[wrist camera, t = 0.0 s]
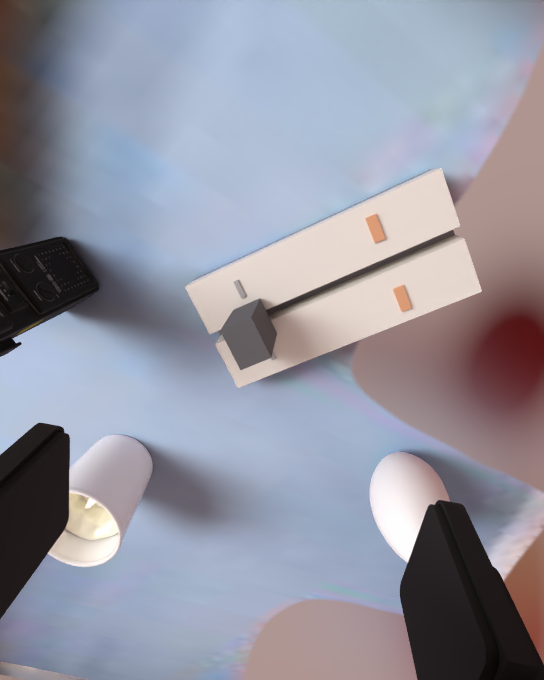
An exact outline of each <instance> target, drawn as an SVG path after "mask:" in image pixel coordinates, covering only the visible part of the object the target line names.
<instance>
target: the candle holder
mask: <svg viewBox="0 0 544 680" xmlns="http://www.w3.org/2000/svg"><path fill="white" fill-rule="evenodd" d="M152 471H153V462H152V458H151V456H150V454H149V452H148V450H147V449H146V448H145V447H144V446H143V445H142V444H141V443H140V442H138V441H137V440H135V439H133V438H131V437H129V436H125V435H119V434H114V435H108V436H105V437H103V438H101V439H99V440H98V441H97V442H96V443H94V444H93V445H92V446H91V447H90V448H89V449H88V450H87V451H86V452H85V453H84V454H83V455H82V456H81V457H80V458H79V459H78V460H77V461H76V462H75V463H74V464H73V465H72V466H71V467H70V468H69V519H68V523H67V525H66V528H65V530H64V531H63V533H62V534H61V535H60V537H59V538H58V540H57V541H56V542H55V544H54V545H53V547H52V548H51V549H50V551H49V552H48V554H49V555H51V556H52V557H54V558H55V559H57V560H59V561H61V562H64V563H66V564H69V565H73V566H79V567H91V566H97V565H100V564H103V563H105V562H107V561H109V560H110V559H111V558H112V557H113V556H114V555H115V554H116V553H117V552H118V550H119V548H120V546H121V543H122V540H123V538H124V535H125V533H126V531H127V529H128V527H129V524H130V522H131V520H132V518H133V516H134V513H135V511H136V509H137V507H138V505H139V503H140V500H141V498H142V496H143V494H144V492H145V489H146V487H147V485H148V483H149V480H150V478H151V475H152Z"/></svg>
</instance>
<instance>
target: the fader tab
mask: <svg viewBox="0 0 544 680" xmlns="http://www.w3.org/2000/svg"><path fill="white" fill-rule="evenodd" d="M220 332H221V334H222V336H223V337H224V339H225V341H226V343H227V345H228V347H229V349H230V351H231V353H232V355H233V357H234V359H235V361H236V363H237V364H238V366H239V368H240V370H243V369H245V368H248V367H250V366H253V365H255V364H257V363H260V362H262V361H265V360H267V359H270V358H271V357H272V353H273V349H274V345H275V340H276V336H277V332H276V330H275V328H274V326H273V324H272V322H271V320H270V317H269V315H268V313H267V311H266V309H265V307H264V305H263V303H262V301H261V299H260V298H259V299H257V300H255V301H252V302H250V303H248V304H245V305H243V306H241V307H239V308H236V309H234V310H233V311H232V313H231V314H230V316H229V317H228V319H227V320H226V322H225V324H224V325H223V327H222V328H221V330H220Z"/></svg>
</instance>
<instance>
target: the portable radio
mask: <svg viewBox="0 0 544 680" xmlns="http://www.w3.org/2000/svg"><path fill="white" fill-rule="evenodd" d="M98 285H99V284H98V282H97V281H96V279H95V278H94V277H93V275H92V274H91V272H90V271H89V269H88V268H87V267H86V265H85V264H84V262H83V261H82V260H81V258H80V257H79V255H78V254H77V253H76V251H75V250H74V249H73V247H72V246H71V245H70V243H69V242H68V241H67V239H66V238H63V237H56V238H52V239H48V240H44V241H40V242H36V243H31V244H27V245H23V246H18V247H14V248H10V249H5V250H1V251H0V357H1V356H3V355H5V354H7V353H9V352H10V351H12V350H14V349H15V348H17V347H18V346H20V345H21V344H22V343H21V342H19V343H15V342H14V340H13V339H12V338H14V337H16V336H18V335H20V334H22V333H24V332H26V331H28V330H30V329H32V328H34V327H36V326H38V325H40V324H42V323H44V322H46V321H48V320H49V319H51V318H54V317H56V316H57V315H59V314H61V313H63V312H65V311H67V310H68V309H70V308H72V307H74V306H76V305H77V304H79V303H80V302H82V301H83V300H85V299H86V298H88V297H89V296H91V295H92V294H94V293H95V292H97V291H98V290H99V286H98Z"/></svg>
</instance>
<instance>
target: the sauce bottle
mask: <svg viewBox="0 0 544 680" xmlns="http://www.w3.org/2000/svg"><path fill="white" fill-rule="evenodd" d="M438 500H443V501H448V502H450V500H449V496H448V493H447V491H446V489H445V487H444V484H443V482H442V481H441V479H440V477H439V476H438V474H437V473H436V472H435V471H434V470H433V468H432V467H431V466H430V465H429V464H427V463H426V462H425V461H423V460H422V459H420V458H418V457H417V456H415V455H412V454H409V453H405V452H394V453H391V454H389V455H387V456H385V457H384V458H383V459H382V460H381V461H380V463H379V464H378V465H377V467H376V469H375V471H374V473H373V475H372V479H371V483H370V503H371V507H372V512H373V515H374V518H375V521H376V523H377V525H378V527H379V529H380V531H381V533H382V535H383V536H384V538H385V539H386V541H387V542H388V544H389V545H390V546H391V547H392V549H393V550H394V551H395V552H396V553H397V554H398V555H399V556H400V557H401V558H402V559H403V560H404V561H406V562H407V563H408V561H409V558H410V555H411V553H412V550H413V547H414V544H415V541H416V538H417V536H418V533H419V530H420V527H421V524H422V521H423V519H424V516H425V513H426V510H427V508H428V506H429V505H430V504H433V505H435V503H436V502H437V501H438Z"/></svg>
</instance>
